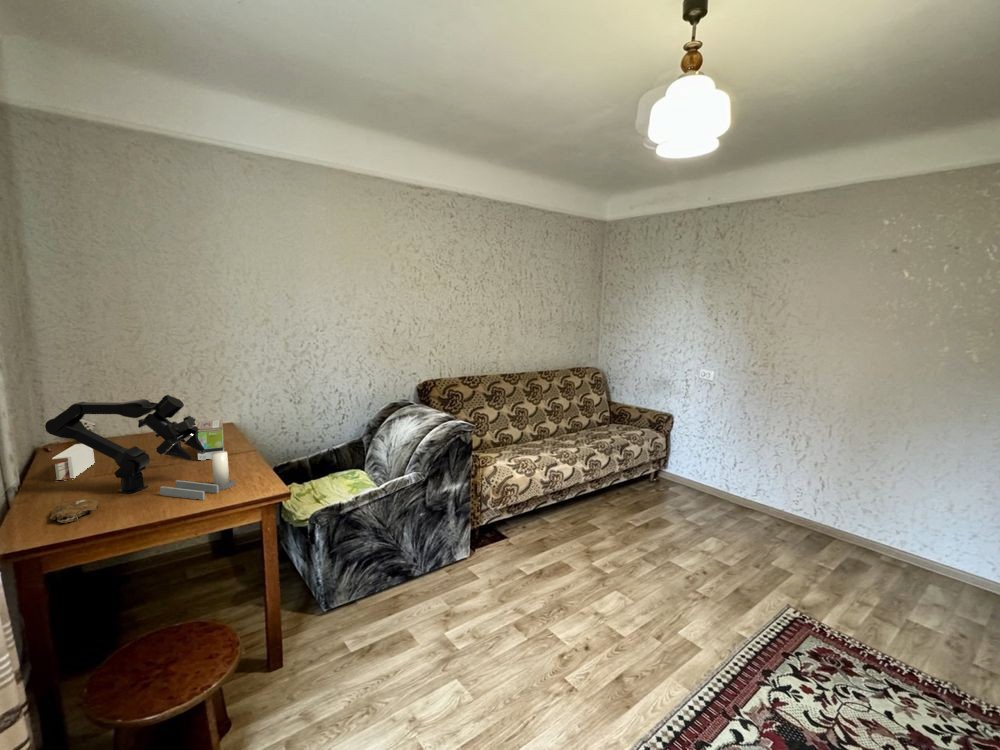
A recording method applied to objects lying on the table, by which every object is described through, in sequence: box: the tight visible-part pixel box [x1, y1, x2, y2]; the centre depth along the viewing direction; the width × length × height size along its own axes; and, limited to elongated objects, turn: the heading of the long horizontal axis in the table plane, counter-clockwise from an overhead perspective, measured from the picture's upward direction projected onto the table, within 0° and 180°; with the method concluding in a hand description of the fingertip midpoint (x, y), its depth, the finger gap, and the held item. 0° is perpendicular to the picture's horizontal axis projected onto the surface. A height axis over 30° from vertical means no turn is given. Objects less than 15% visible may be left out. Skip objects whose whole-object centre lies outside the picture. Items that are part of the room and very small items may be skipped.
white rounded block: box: [211, 450, 230, 487], centre depth 167 cm, size 5×5×12 cm
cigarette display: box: [51, 443, 96, 480], centre depth 177 cm, size 20×6×9 cm, turn 23°
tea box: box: [196, 419, 225, 461], centre depth 202 cm, size 15×10×15 cm
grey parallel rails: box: [159, 479, 220, 501], centre depth 160 cm, size 18×7×3 cm, turn 79°
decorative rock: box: [49, 499, 99, 524], centre depth 143 cm, size 11×4×15 cm
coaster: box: [211, 479, 237, 491], centre depth 168 cm, size 9×9×1 cm
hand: (197, 454), depth 165 cm, fingers open, 9 cm apart
